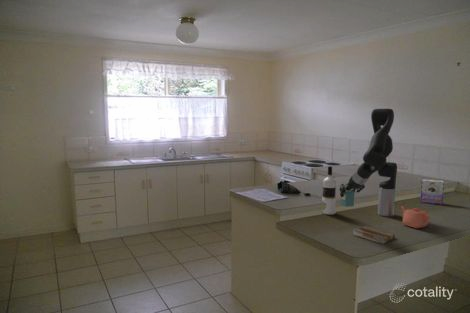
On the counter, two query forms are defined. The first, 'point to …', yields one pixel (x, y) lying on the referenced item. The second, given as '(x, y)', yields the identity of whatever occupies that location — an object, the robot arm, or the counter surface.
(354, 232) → the shelf
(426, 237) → the counter surface
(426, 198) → the candy box
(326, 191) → the vodka
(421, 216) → the teapot
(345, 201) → the tea box
